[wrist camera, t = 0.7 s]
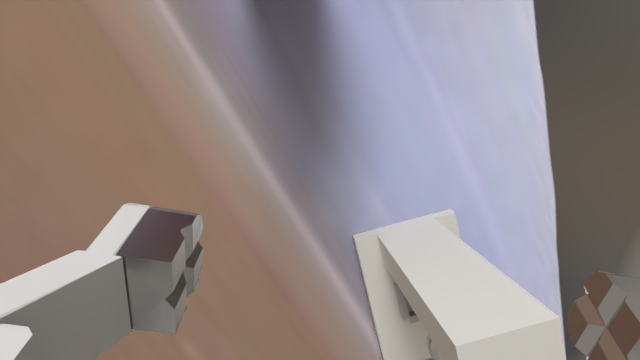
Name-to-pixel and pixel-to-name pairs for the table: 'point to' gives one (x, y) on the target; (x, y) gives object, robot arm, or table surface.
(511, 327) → the press frame
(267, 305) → the table surface
